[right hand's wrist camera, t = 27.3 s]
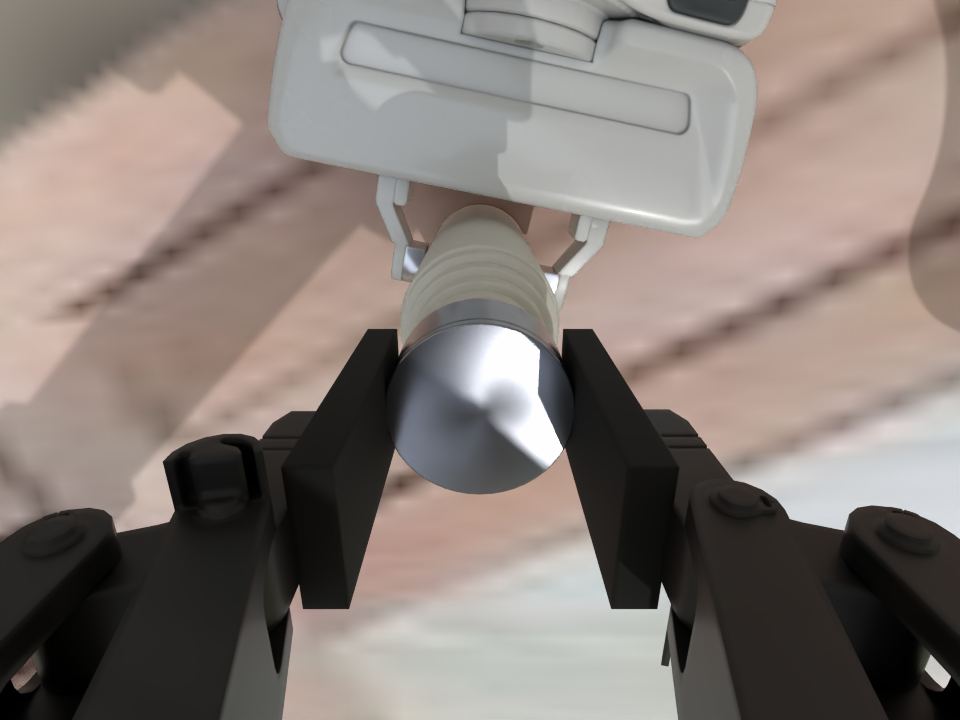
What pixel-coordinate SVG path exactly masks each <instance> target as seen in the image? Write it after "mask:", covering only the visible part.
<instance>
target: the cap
mask: <svg viewBox="0 0 960 720" xmlns="http://www.w3.org/2000/svg"><path fill="white" fill-rule="evenodd" d="M385 401H386V416H387V429H388V433H389V436H390V438H391V441H392V443H393V445H394V447H395V448H396V450H397V452H398V453H399V455H400V456H401V457H402V459H403V460H404V461H405V462H406V463H407V464H408V465H409V466H410V467H411V468H412V469H413V470H414V471H415V472H416V473H418V474H419V475H420V476H422V477H423V478H425V479H426V480H428V481H430V482H432V483H434V484H436V485H438V486H440V487H443V488H445V489H449V490H452V491H456V492H461V493H467V494H493V493H499V492H504V491H508V490H511V489H515V488H517V487H519V486H522V485H524V484H526V483H528V482H530V481H532V480H533V479H535V478H537V477H538V476H539V475H541V474H542V473H544V472H545V471H546V470H547V469H548V468H549V467H550V466H551V465H552V464H553V463H554V462H555V461H556V460H557V458H558V457H559V456H560V454H561V453H562V451H563V450H564V448H565V447H566V445H567V442H568V440H569V438H570V436H571V432H572V429H573V421H574V407H575V397H574V391H573V388H572V384H571V381H570V378H569V376H568V373H567V371H566V368H565V366H564V363H563V361H562V358H561V356H560V353H559V350H558V348H557V346H556V344H555V342H554V340H553V338H552V337H551V335H550V334H549V332H548V331H547V330H546V328H545V327H544V326H543V325H542V324H541V323H540V322H539V321H538V320H537V319H536V318H535V317H533V316H532V315H531V314H529V313H527V312H526V311H524V310H523V309H521V308H519V307H517V306H515V305H512V304H509V303H506V302H503V301H498V300H493V299H481V298H479V299H467V300H462V301H457V302H454V303H451V304H448V305H445V306H443V307H441V308H439V309H437V310H435V311H434V312H432V313H431V314H429V315H428V316H426V317H425V318H424V319H423V320H422V321H421V322H420V323H419V324H418V325H417V326H416V327H415V328H414V329H413V330H412V332H411V333H410V335H409V336H408V338H407V339H406V341H405V344H404V346H403V348H402V350H401V353H400V355H399V358H398V360H397V363H396V365H395V368H394V370H393V373H392V375H391V378H390V380H389V384H388V387H387V390H386V396H385Z"/></svg>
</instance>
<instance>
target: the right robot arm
mask: <svg viewBox="0 0 960 720" xmlns="http://www.w3.org/2000/svg"><path fill="white" fill-rule="evenodd" d="M398 358H399V354H398V337H397V329H368V330H367V331H366V333H365V335H364V336H363V338H362V339H361V341H360V343H359V344H358V346H357V347H356V349H355V351H354V352H353V354H352V355H351V357H350V358H349V360H348V362H347V363H346V365H345V366H344V368H343V370H342V371H341V373H340V374H339V376H338V377H337V379H336V381H335V382H334V384H333V385H332V387H331V389H330V390H329V392H328V393H327V395H326V396H325V398H324V400H323V401H322V403H321V404H320V406H319V408H318V409H317V411H291V412H290V413H288V414H286V415H285V416H283V417H282V418H280V419H278V420H277V421H275V422H273V423H272V425H271V426H270V427H269V429H268V430H267V431H266V433H265V434H264V435H263V439H260V440H257V439H256V438H255V437H252V436H248V435H243V434H222V435H216V436H211V437H205V438H202V439H199V440H196V441H194V442H191V443H188V444H186V445H184V446H182V447H181V448H179V449H177V450H175V451H173V452H172V453H171V454H170V455H169V456H168V457H167V458H166V459H165V460H164V461H163V465H164V469H165V473H166V477H167V481H168V485H169V489H170V493H171V497H172V501H173V505H174V509H175V512H174V514H173V516H172V518H171V520H170V522H167V523H164V524H160V525H155V526H150V527H145V528H140V529H135V530H130V531H125V532H120V533H117V532H116V529H115V525H114V522H113V519H112V516H110V515H109V514H108V513H107V512H105V511H104V510H99V509H93V508H84V509H73V510H65V511H60V513H53V514H50V515H47V516H45V517H43V518H42V519H40V520H37V521H35V522H33V523H30V524H28V525H26V526H24V527H23V528H21V529H20V530H18V531H17V532H15V533H14V534H12V535H10V536H9V537H7V538H6V539H5V540H4V541H2V542H1V543H0V720H282V715H283V707H284V699H285V691H286V682H287V674H288V666H289V658H290V650H291V642H292V634H293V627H292V620H291V614H290V608H289V607H290V604H291V602H292V599H293V597H294V595H295V592H296V590H297V587H298V585H299V586H300V592H301V599H302V605H303V609H349V607H350V604H351V600H352V597H353V593H354V590H355V586H356V583H357V579H358V576H359V572H360V569H361V565H362V562H363V558H364V555H365V551H366V548H367V544H368V541H369V537H370V534H371V530H372V527H373V523H374V520H375V516H376V513H377V509H378V506H379V502H380V499H381V495H382V492H383V488H384V485H385V481H386V478H387V474H388V471H389V467H390V464H391V460H392V457H393V453H394V450H395V447H394V445H393V443H392V441H391V438H390V436H389V433H388V429H387V416H386V401H385V396H386V390H387V387H388V384H389V380H390V378H391V375H392V373H393V370H394V368H395V365H396V363H397V360H398ZM562 361H563V363H564V366H565V368H566V371H567V373H568V376H569V378H570V381H571V384H572V388H573V391H574V397H575V407H574V421H573V429H572V432H571V436H570V438H569V440H568V442H567V445H566V447H565V449H566V452H567V456H568V459H569V463H570V466H571V470H572V473H573V477H574V480H575V484H576V487H577V491H578V494H579V498H580V501H581V505H582V508H583V512H584V515H585V519H586V522H587V526H588V529H589V533H590V536H591V540H592V543H593V547H594V550H595V554H596V557H597V560H598V564H599V567H600V571H601V574H602V578H603V581H604V585H605V588H606V592H607V595H608V599H609V602H610V606H611V609H657V607H658V601H659V594H660V588H661V582H662V584H663V586H664V589H665V591H666V593H667V596H668V598H669V600H670V603H671V608H670V614H669V619H668V625H667V631H666V637H665V643H664V649H663V655H662V662H661V665H663V666H669V660H670V657H671V665H672V673H673V681H674V689H675V697H676V705H677V714H678V720H960V539H959V538H957V537H956V536H955V535H954V534H952V533H950V532H949V531H947V530H946V529H944V528H943V527H941V526H939V525H938V524H936V523H934V522H932V521H930V520H928V519H925V518H923V517H921V516H919V515H918V514H916V513H913V512H910V511H906V510H904V511H903V510H902V509H898V508H893V507H882V506H866V507H859V508H857V509H855V510H854V511H853V512H852V513H850V514H849V517H848V520H847V524H846V527H845V530H844V531H843V530H838V529H833V528H828V527H823V526H818V525H812V524H807V523H802V522H799V521H795V520H791V519H789V517H788V515H787V513H786V511H785V509H784V508H783V507H782V506H781V504H780V503H779V502H778V501H777V499H775V498H774V497H772V496H771V495H769V494H768V493H766V492H765V491H763V490H761V489H759V488H756V487H754V486H751V485H749V484H747V483H743V482H738V481H734V480H733V479H732V478H731V477H730V475H729V474H728V473H727V471H726V470H725V469H724V467H723V466H722V465H721V464H720V462H719V461H718V460H717V458H716V457H715V456H714V454H713V453H712V452H711V451H710V449H707V445H706V444H705V443H704V441H703V440H702V439H701V438H700V437H698V434H697V432H696V431H695V430H694V428H693V427H692V426H691V425H690V423H689V422H688V421H687V420H685V419H684V418H682V417H680V416H679V415H677V414H676V413H674V412H672V411H671V410H643V409H642V407H641V405H640V404H639V402H638V401H637V399H636V397H635V396H634V394H633V393H632V391H631V390H630V388H629V386H628V385H627V383H626V382H625V380H624V378H623V377H622V375H621V374H620V372H619V371H618V369H617V367H616V366H615V364H614V363H613V361H612V359H611V358H610V356H609V355H608V353H607V352H606V350H605V348H604V347H603V345H602V344H601V342H600V340H599V339H598V337H597V336H596V334H595V332H594V331H593V329H563V343H562ZM930 655H932V656H933V657H934V658H935V659H936V660H937V661H938V663H939V664H940V665H941V666H942V667H943V668H944V669H945V670H946V671H947V672H948V673H949V674H950V676H951V678H950V680H949V683H948V685H947V686H946V688H945V689H944V688H942V687H941V686H940V685H939V684H938V683H936V682H935V681H934V680H933V679H932V677H931V676H930V675H929V674H928V673H927V672H926V671H925V670H924V669H925V667H926V665H927V662H928V660H929V657H930ZM30 657H31V659H32V661H33V663H34V666H35V668H36V671H37V672H36V673H35V674H34V675H33V677H32V678H31V679H30V680H29V681H28V682H27V683H26V684H25V685H24V686H22V687H21V688H20V689H19V690H18V691H17V690H16V689H15V688H14V686H13V684H12V681H11V678H12V677H13V676H14V675H15V674H16V673H17V672H18V670H19V669H20V668H21V667H22V666H23V665H24V664H25V663H26V662H27V661H28V660H29V658H30Z"/></svg>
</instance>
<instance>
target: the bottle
mask: <svg viewBox="0 0 960 720" xmlns="http://www.w3.org/2000/svg"><path fill="white" fill-rule="evenodd" d="M479 298H481V299H493V300H498V301H503V302H506V303H509V304H512V305H515V306H517V307H519V308H521V309H523V310H524V311H526V312H527V313H529V314H531V315H532V316H533V317H535V318H536V319H537V320H538V321H539V322H540V323H541V324H542V325H543V326H544V327H545V328H546V330H547V331H548V332H549V334H550V335H551V337H552V338H553V340H554V342H555V344H556V346H557V342H558V334H559V311H558V305H557V301H556V298H555V295H554V293H553V290H552V288H551V286H550V284H549V282H548V280H547V278H546V276H545V275H544V273H543V271H542V269H541V267H540V265H539V263H538V261H537V259H536V257H535V256H534V254H533V252H532V250H531V248H530V246H529V244H528V242H527V240H526V238H525V236H524V235H523V233H522V231H521V229H520V227H519V226H518V224H517V223H516V222H515V220H514V219H513V218H512V217H511V216H510V215H509V214H507V213H506V212H504V211H503V210H501V209H499V208H496V207H493V206H489V205H481V204H478V205H470V206H466V207H464V208H461V209H459V210H457V211H455V212H454V213H453V214H451V215H450V216H449V217H448V218H447V219H446V220H445V221H444V222H443V224H442V225H441V227H440V228H439V230H438V232H437V234H436V236H435V238H434V240H433V242H432V244H431V246H430V247H429V249H428V251H427V253H426V255H425V257H424V259H423V261H422V263H421V265H420V266H419V268H418V270H417V272H416V274H415V276H414V278H413V280H412V282H411V284H410V285H409V288H408V290H407V292H406V294H405V297H404V301H403V304H402V310H401V335H402V343H403V346H404V344H405V341H406V339H407V338H408V336H409V335H410V333H411V332H412V330H413V329H414V328H415V327H416V326H417V325H418V324H419V323H420V322H421V321H422V320H423V319H424V318H425V317H426V316H428V315H429V314H431V313H432V312H434V311H435V310H437V309H439V308H441V307H443V306H445V305H448V304H451V303H454V302H457V301H462V300H467V299H479Z"/></svg>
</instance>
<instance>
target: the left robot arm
mask: <svg viewBox="0 0 960 720" xmlns="http://www.w3.org/2000/svg"><path fill="white" fill-rule="evenodd" d="M776 1H777V0H277V5H278V10H279V14H280V16H281V19H282V24H281V29H280V34H279V38H278V43H277V49H276V54H275V60H274V66H273V72H272V80H271V87H270V96H269V106H268V128H269V131H270V133H271V135H272V136H273V138H274V140H275V141H276V143H277V145H278V146H279V148H280V149H281V151H282V152H283V153H284V154H285V155H287V156H289V157H294V158H299V159H304V160H309V161H314V162H319V163H324V164H328V165H333V166H338V167H343V168H348V169H353V170H358V171H363V172H368V173H373V174H378V184H377V192H376V204H377V206H378V209H379V211H380V214H381V216H382V218H383V221H384V223H385V226H386V228H387V231H388V233H389V235H390V238H391V240H392V242H393V243H395V248H394V255H393V263H392V270H391V279H395V280H399V281H401V280H402V281H406V282H412V280H413V278H414V276H415V274H416V272H417V270H418V268H419V266H420V265H421V263H422V261H423V259H424V257H425V255H426V253H427V251H428V248H429V243H424V242H420V241H415V240H413V237H412V234H411V232H410V229H409V226H408V223H407V221H406V218H405V215H404V213H403V210H402V207H401V206H405V205H406V204H407V203H409V202H410V201H412V196H413V189H414V182H418V183H423V184H428V185H433V186H438V187H443V188H448V189H453V190H458V191H463V192H468V193H473V194H478V195H483V196H488V197H493V198H498V199H503V200H508V201H513V202H517V203H522V204H527V205H532V206H537V207H542V208H547V209H552V210H557V211H562V212H567V213H572V215H571V220H570V224H569V228H568V233H569V234H570V235H571V236H572V237H573V238H574V239H575V241H574V242H573V243H572V245H571V246H570V247H569V248H568V249H567V250H566V251H565V252H564V254H563V255H562V256H561V257H560V258H559V259H558V260H557V261H556V263H555V264H554V265H553V267H549V266H543V265H540V267H541V269H542V271H543V273H544V275H545V276H546V278H547V280H548V282H549V284H550V286H551V288H552V290H553V293H554V295H555V298H556V301H557V305H558V310H559V311H560V310H561V308H562V306H563V303H564V299H565V295H566V291H567V287H568V283H569V280H570V277H573V276H574V275H575V274H576V273H577V272H578V271H579V270H580V269H581V268H582V267H583V266H584V265H585V264H586V263H587V262H588V261H589V260H590V259H591V258H592V257H593V256H594V255H595V254H596V253H597V252H598V251H599V250H600V249H601V248H602V247H603V244H604V240H605V237H606V233H607V229H608V226H609V222H610V221H612V222H617V223H622V224H627V225H632V226H637V227H642V228H647V229H652V230H657V231H662V232H667V233H672V234H677V235H682V236H687V237H692V238H700V237H702V236H704V235H705V234H706V233H708V232H709V231H710V230H712V229H713V228H714V227H715V226H716V225H718V224H719V223H720V222H721V221H722V220H723V219H724V217H725V215H726V213H727V211H728V209H729V206H730V204H731V201H732V198H733V195H734V192H735V189H736V186H737V183H738V180H739V176H740V173H741V169H742V166H743V162H744V159H745V155H746V151H747V147H748V143H749V139H750V134H751V130H752V125H753V121H754V116H755V111H756V104H757V91H758V90H757V78H756V73H755V70H754V67H753V65H752V63H751V61H750V59H749V58H748V57H747V55H746V54H745V53H744V52H743V51H742V50H740V49H739V48H740V47H742V46H744V45H746V44H748V43H749V42H751V41H753V40H754V39H756V38H757V37H758V36H760V35H761V34H762V33H763V32H764V30H765V29H766V27H767V25H768V23H769V21H770V19H771V17H772V14H773V11H774V7H775V5H776Z"/></svg>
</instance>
